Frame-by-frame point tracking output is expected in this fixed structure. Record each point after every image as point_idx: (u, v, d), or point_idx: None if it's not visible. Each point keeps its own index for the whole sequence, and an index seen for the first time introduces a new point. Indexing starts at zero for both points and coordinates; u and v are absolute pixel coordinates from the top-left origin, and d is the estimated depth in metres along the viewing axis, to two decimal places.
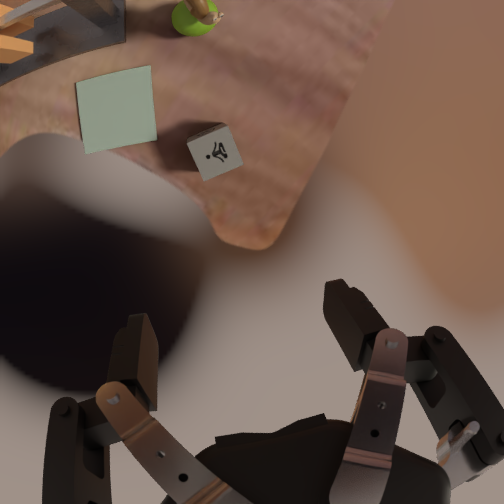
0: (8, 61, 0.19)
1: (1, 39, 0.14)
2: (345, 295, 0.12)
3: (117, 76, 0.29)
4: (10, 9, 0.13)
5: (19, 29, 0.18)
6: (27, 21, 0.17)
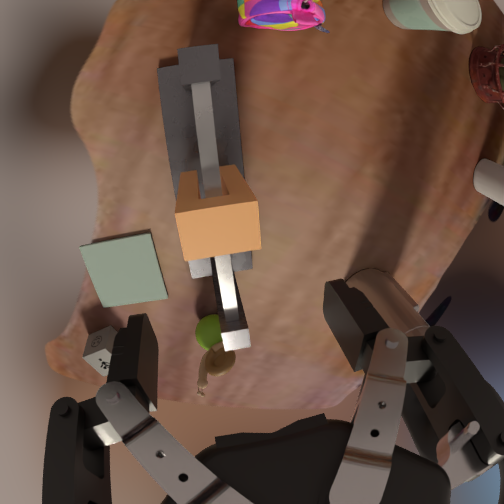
0: None
1: None
2: (345, 295, 0.12)
3: (156, 273, 0.38)
4: None
5: (222, 193, 0.28)
6: None
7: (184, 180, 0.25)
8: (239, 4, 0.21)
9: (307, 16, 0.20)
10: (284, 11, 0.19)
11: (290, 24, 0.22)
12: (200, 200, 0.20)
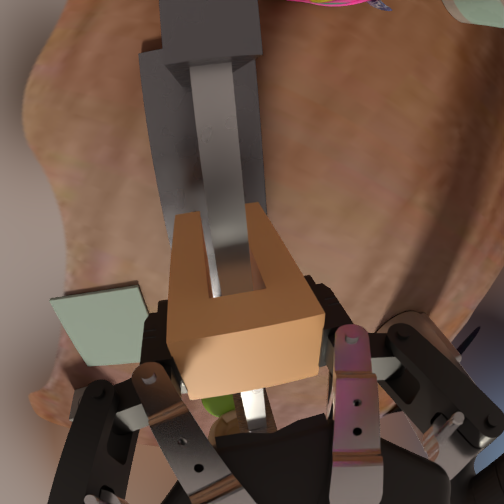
0: None
1: None
2: None
3: None
4: None
5: None
6: None
7: (181, 236, 0.16)
8: None
9: None
10: None
11: None
12: (213, 302, 0.11)
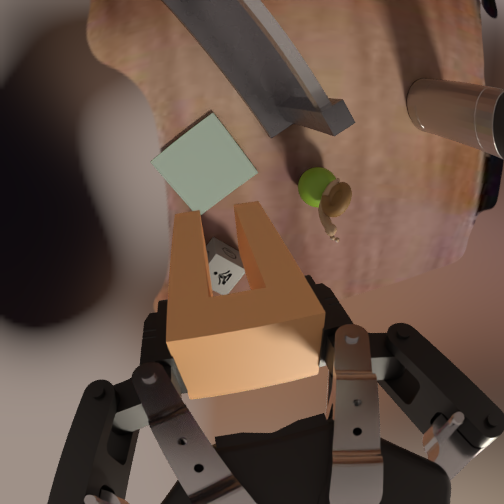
0: None
1: None
2: None
3: (235, 150, 0.37)
4: None
5: (241, 247, 0.19)
6: None
7: (181, 235, 0.16)
8: None
9: None
10: None
11: None
12: (212, 301, 0.11)
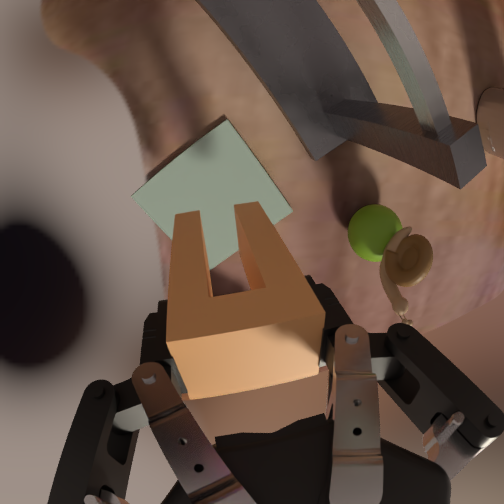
0: None
1: None
2: None
3: (261, 178, 0.25)
4: None
5: (240, 248, 0.19)
6: None
7: (181, 235, 0.16)
8: None
9: None
10: None
11: None
12: (212, 301, 0.11)
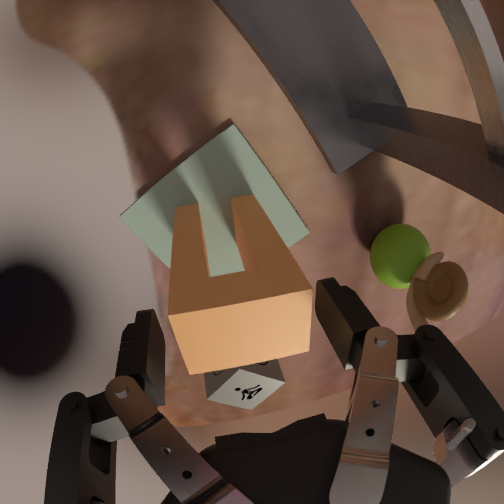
0: None
1: None
2: (336, 293, 0.12)
3: (273, 195, 0.21)
4: None
5: (237, 238, 0.20)
6: None
7: (181, 225, 0.17)
8: None
9: None
10: None
11: None
12: (210, 281, 0.12)
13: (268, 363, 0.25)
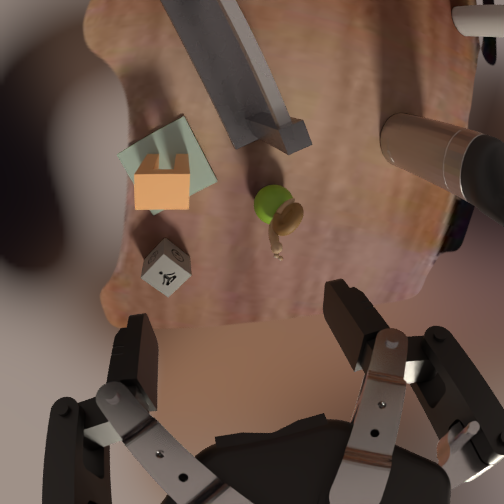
0: None
1: None
2: (345, 295, 0.12)
3: (199, 156, 0.37)
4: None
5: None
6: None
7: (147, 158, 0.33)
8: None
9: None
10: None
11: None
12: (153, 170, 0.28)
13: (183, 262, 0.41)
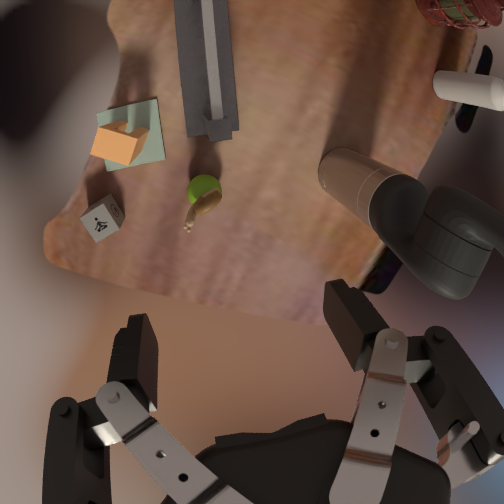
0: None
1: None
2: (345, 295, 0.12)
3: (157, 134, 0.42)
4: None
5: None
6: None
7: (116, 122, 0.37)
8: None
9: None
10: None
11: None
12: (114, 129, 0.32)
13: (117, 217, 0.45)
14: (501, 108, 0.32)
